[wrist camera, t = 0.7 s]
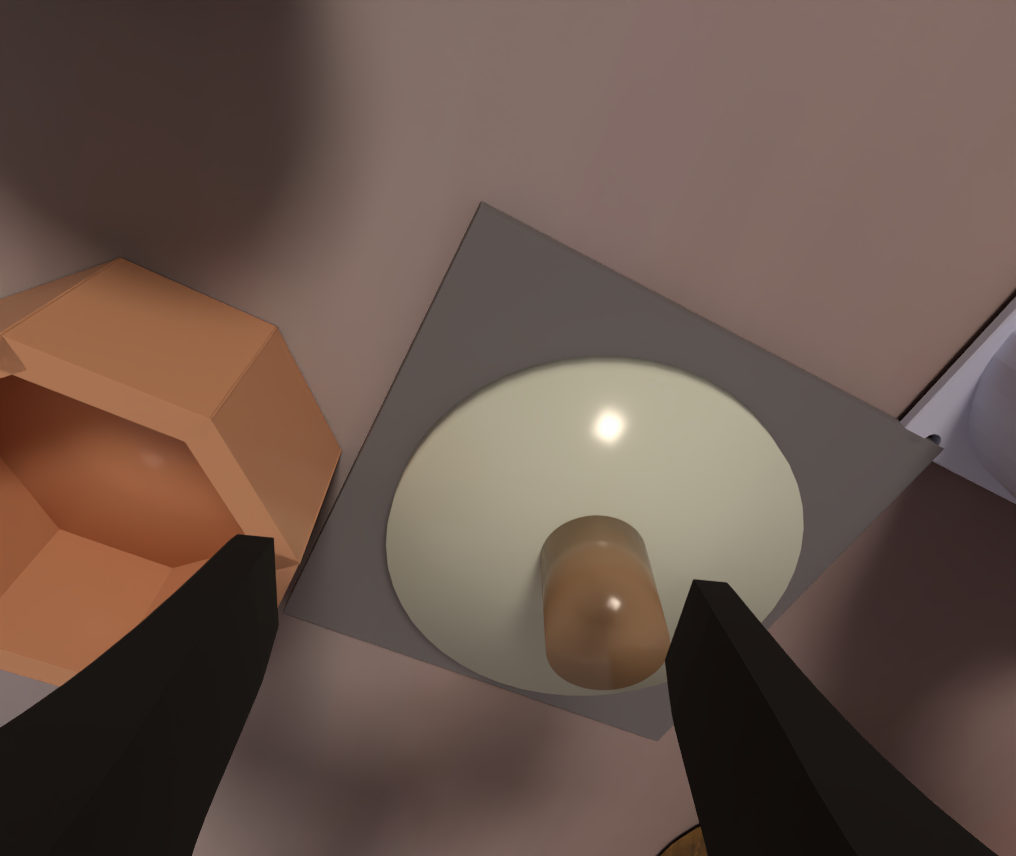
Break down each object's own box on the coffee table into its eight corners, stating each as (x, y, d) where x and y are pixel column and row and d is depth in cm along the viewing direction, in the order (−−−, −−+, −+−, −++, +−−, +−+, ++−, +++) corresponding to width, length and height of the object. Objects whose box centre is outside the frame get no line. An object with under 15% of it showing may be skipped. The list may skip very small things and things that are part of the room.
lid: (878, 464, 21) (965, 568, 17) (647, 711, 26) (672, 832, 22) (503, 277, 18) (502, 350, 14) (333, 600, 23) (298, 717, 19)
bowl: (379, 371, 20) (344, 471, 15) (269, 605, 24) (218, 733, 20) (-2, 202, 17) (-170, 265, 13) (-45, 497, 22) (-181, 616, 17)
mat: (933, 438, 21) (944, 448, 20) (654, 727, 28) (657, 741, 27) (480, 200, 17) (480, 206, 17) (287, 600, 24) (282, 612, 23)
